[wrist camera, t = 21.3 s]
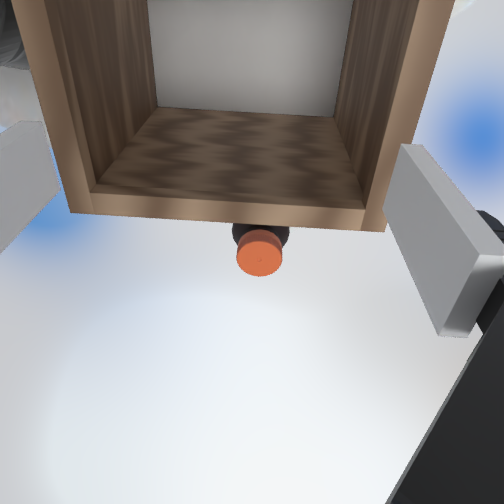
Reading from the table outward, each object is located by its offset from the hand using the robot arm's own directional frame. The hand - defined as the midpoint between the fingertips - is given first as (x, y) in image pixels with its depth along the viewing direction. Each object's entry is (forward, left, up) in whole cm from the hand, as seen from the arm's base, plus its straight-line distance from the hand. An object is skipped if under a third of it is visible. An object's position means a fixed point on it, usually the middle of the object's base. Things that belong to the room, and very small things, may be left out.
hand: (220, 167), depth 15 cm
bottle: (+2, -19, -39) cm, 43 cm away
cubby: (-1, -1, -39) cm, 39 cm away
